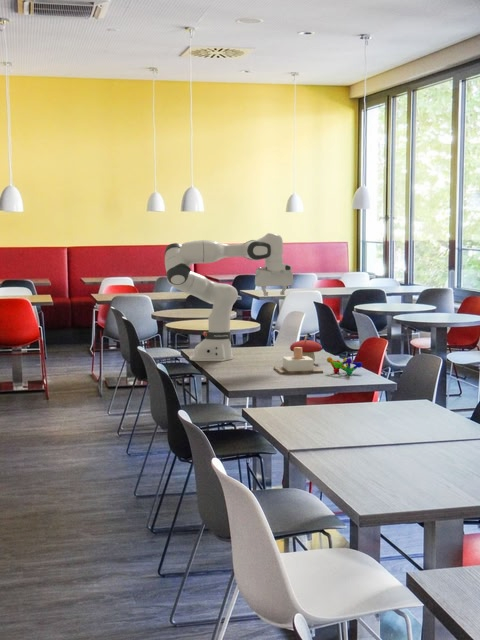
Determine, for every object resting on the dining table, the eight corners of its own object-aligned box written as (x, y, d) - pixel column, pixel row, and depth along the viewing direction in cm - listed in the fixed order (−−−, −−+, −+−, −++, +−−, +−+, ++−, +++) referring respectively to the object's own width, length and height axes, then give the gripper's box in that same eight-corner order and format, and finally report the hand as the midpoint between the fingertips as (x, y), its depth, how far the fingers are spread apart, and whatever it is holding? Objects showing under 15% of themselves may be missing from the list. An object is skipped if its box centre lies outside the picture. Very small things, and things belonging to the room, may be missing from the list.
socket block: (288, 371, 392) (288, 360, 392) (282, 367, 404) (282, 356, 403) (313, 370, 394) (313, 359, 393) (307, 366, 406) (307, 356, 405)
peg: (294, 369, 397) (294, 348, 396) (292, 368, 401) (292, 347, 400) (303, 369, 397) (303, 348, 396) (301, 368, 401) (301, 347, 400)
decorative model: (342, 361, 400) (365, 356, 389) (342, 380, 398) (366, 375, 386) (322, 357, 392) (345, 352, 381) (322, 376, 390) (345, 371, 379)
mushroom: (323, 365, 414) (323, 335, 413) (290, 365, 414) (290, 335, 413) (320, 361, 430) (320, 331, 428) (289, 361, 430) (289, 331, 429)
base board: (280, 374, 390) (280, 372, 390) (273, 368, 405) (273, 366, 405) (323, 372, 393) (323, 370, 393) (314, 367, 408) (314, 365, 408)
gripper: (258, 267, 407) (258, 296, 408) (295, 266, 417) (295, 294, 418) (252, 267, 413) (252, 295, 414) (288, 266, 422) (288, 294, 424)
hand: (274, 295), depth 416 cm, fingers open, 8 cm apart
